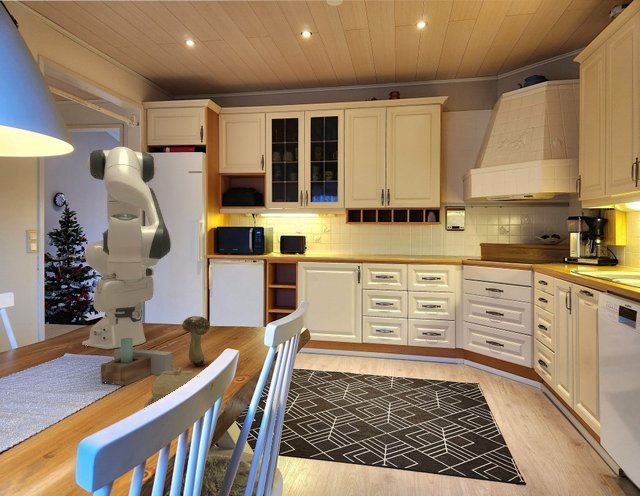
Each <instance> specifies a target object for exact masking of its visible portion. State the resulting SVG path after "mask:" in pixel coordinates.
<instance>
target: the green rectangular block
mask: <svg viewBox="0 0 640 496" xmlns="http://www.w3.org/2000/svg"><path fill="white" fill-rule="evenodd" d="M120 348H121V363H124V364H128V363H131V362H133V349H134V347H133V338H123V339H121V347H120Z"/></svg>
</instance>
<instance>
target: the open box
mask: <svg viewBox="0 0 640 496" xmlns="http://www.w3.org/2000/svg"><path fill="white" fill-rule="evenodd" d="M150 375H152V374H151V357H146V356H135V355H133V362H131V363H128V364H124V363H121V358H118V359H115V360H114V359H113V360H110V361H107V362H104V363H101V364H100V383H101V382H106V383H114V384H121V385H120V386H123V385H125V386H128V385H131V384H132V383H135V382H137V381H140V380H141V379H143V378H146V377H147V376H150ZM106 383H105V384H106ZM114 384H113V385H114Z"/></svg>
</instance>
